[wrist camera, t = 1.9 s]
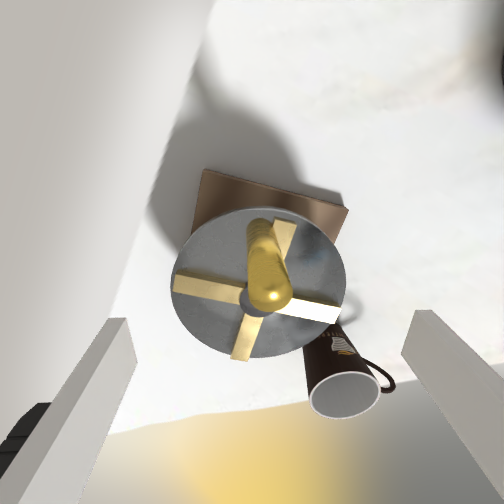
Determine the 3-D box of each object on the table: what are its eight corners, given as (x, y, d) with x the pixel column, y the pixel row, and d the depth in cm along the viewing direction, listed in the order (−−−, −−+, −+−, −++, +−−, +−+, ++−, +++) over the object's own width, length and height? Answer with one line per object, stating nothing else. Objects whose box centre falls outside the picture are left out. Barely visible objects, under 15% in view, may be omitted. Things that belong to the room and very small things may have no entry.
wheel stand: (344, 206, 32) (365, 223, 27) (293, 326, 40) (301, 357, 34) (204, 168, 30) (196, 178, 24) (179, 304, 37) (168, 334, 32)
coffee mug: (282, 342, 41) (294, 403, 32) (320, 305, 38) (345, 360, 29) (336, 371, 45) (360, 434, 36) (375, 339, 42) (411, 399, 33)
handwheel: (369, 230, 26) (451, 299, 16) (306, 358, 34) (335, 462, 24) (188, 184, 24) (148, 230, 14) (163, 333, 31) (125, 437, 21)
